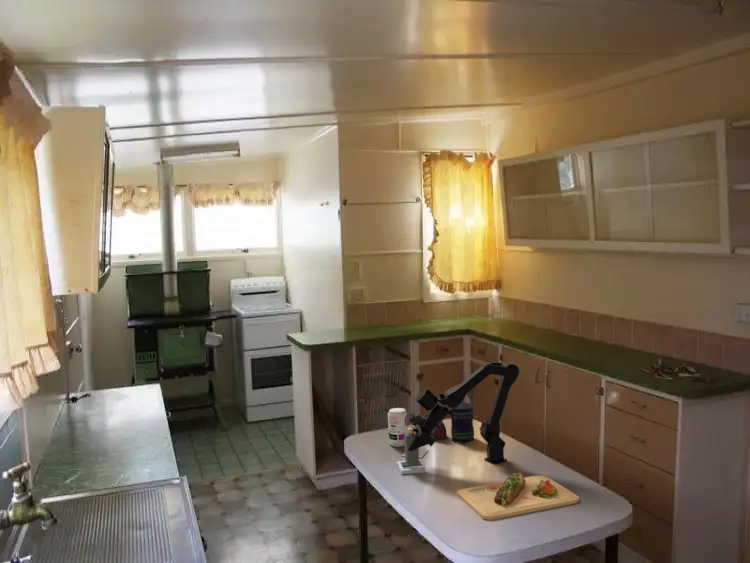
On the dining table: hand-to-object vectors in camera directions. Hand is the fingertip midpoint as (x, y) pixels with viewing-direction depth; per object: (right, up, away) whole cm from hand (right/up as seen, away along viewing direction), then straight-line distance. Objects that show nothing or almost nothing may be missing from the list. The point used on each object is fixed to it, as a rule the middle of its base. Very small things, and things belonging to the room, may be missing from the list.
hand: (408, 448), depth 250 cm
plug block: (+2, -6, +1) cm, 6 cm away
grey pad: (+4, -6, +17) cm, 19 cm away
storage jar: (+25, -4, +31) cm, 40 cm away
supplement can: (-2, -6, +30) cm, 31 cm away
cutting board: (+35, -9, -30) cm, 47 cm away
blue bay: (+2, -8, +1) cm, 8 cm away
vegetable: (+14, -5, +37) cm, 40 cm away
